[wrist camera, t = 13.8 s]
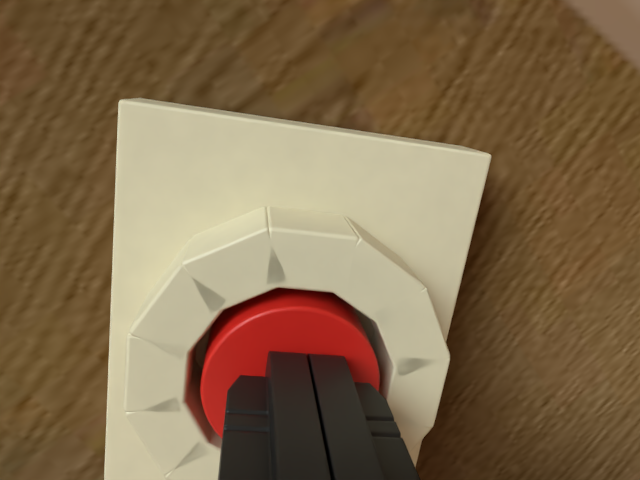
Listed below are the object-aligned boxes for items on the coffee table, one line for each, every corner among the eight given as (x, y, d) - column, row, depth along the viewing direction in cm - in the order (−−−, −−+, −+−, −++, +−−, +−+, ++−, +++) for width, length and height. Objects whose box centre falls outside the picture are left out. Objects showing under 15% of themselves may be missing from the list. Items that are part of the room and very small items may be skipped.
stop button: (215, 266, 11) (208, 298, 9) (375, 282, 11) (395, 315, 10) (201, 409, 12) (192, 462, 10) (348, 416, 12) (364, 467, 11)
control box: (136, 97, 11) (88, 101, 8) (463, 146, 13) (537, 166, 9) (119, 460, 14) (77, 575, 11) (389, 468, 15) (426, 574, 12)
